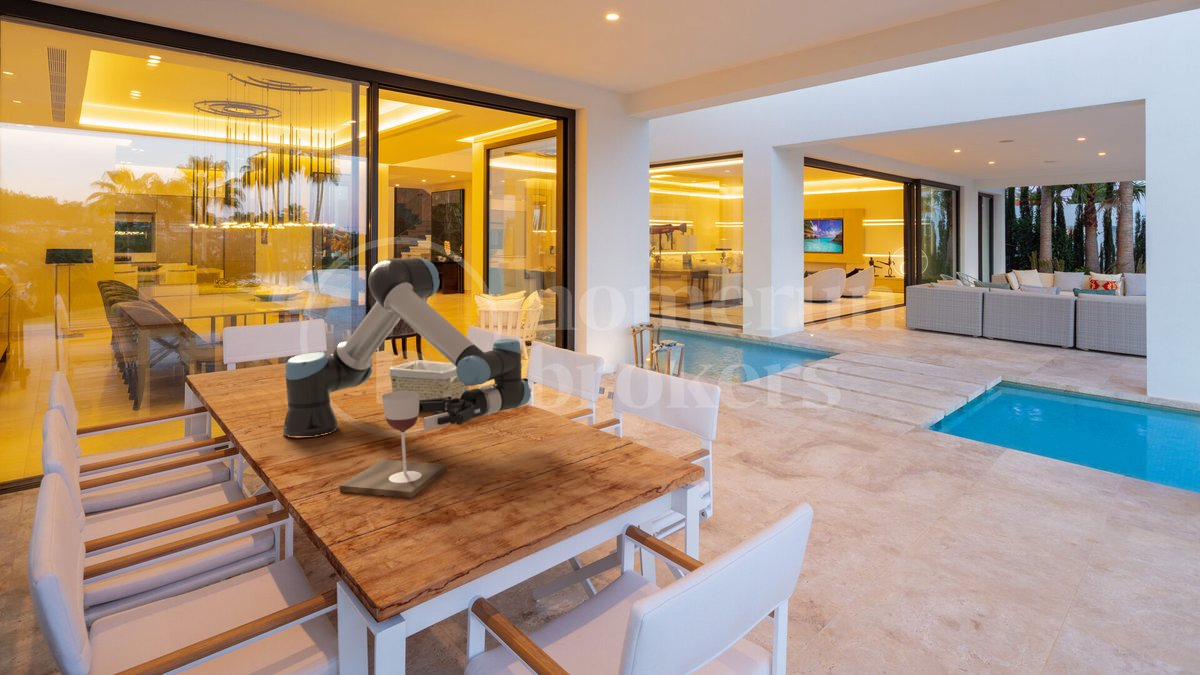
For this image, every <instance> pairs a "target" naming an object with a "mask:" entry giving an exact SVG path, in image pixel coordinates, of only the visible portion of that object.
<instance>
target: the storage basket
mask: <svg viewBox="0 0 1200 675" xmlns="http://www.w3.org/2000/svg"><path fill="white" fill-rule="evenodd" d="M456 368H457V367H456V366H455V365H454V364H452V363H451V362H442V361H433V360H432V361H431V360H430V361H429V360H421V359H418V360H413V361H409V362H406V363H402V364H399V365H394V366H390V367H389V372H388V376H390V383H391V392H397V391H412V392H417V393H419V400H426V399H438V398H446V397H452V399H453V398H459V399H460V398H461V396H462V394H463V393H464V392H465V391H467V390H469V386H468V385H465V384H463V383H462V382H461V381H460V380H459V377H458V375H457V373H456ZM446 410H447V407H446ZM438 413H441V414H442V413H443V412H442V411H439V412H438Z"/></svg>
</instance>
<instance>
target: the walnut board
mask: <svg viewBox="0 0 1200 675" xmlns="http://www.w3.org/2000/svg"><path fill="white" fill-rule="evenodd" d="M406 469H407V471H415V472H419V473H421V474H422V476H421V477H420V478H419V479H417V480H414V481H411V482H405V483H396V482H392V481H390V480H389V477H390V476H391V475H393V474H396V473H399V472H403V460H397V459H396V460H394V459H384V458H383V459H379V461H377V462H376V463H373V464H372V465H371V466H369V467H368V468H365V469H364V470H363V471H361V472H359V473H358V474H355V475H354V476H352V477H351V478H349V479H348V480H346V481H344V482H343V483H341V484H340V485H339V492H340V491H346V492H345V493H348V492H355V493H354V494H359V493H363V495H370V494H372V496H381V495H384V496H383V497H392V496H393V497H395V498H402V499H403V498H406V499H412V498H413V497H415V496H416V495H418V494H419V493H420V492H421V491H422V490H424V489H425V488H426V487H428V486H429V485H431V483H432V482H434V481H435V480H436V479H438V478H439V477H440V476H441V475H443V474H444V473H446V471H448V466H447V463H435V462H433V463H432V462H421V461H420V462H419V461H407V460H406Z"/></svg>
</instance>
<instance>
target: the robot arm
mask: <svg viewBox="0 0 1200 675" xmlns="http://www.w3.org/2000/svg"><path fill="white" fill-rule="evenodd" d="M439 275H440V274H439V271H438V269H437V268H436V266H435V264H434V263H433V262H432V261H430V260H428V259H426V258H419V257H411V258H410V257H407V258H387V259H383V260H381V261H380V262H377V263H376V264H374V266H373V267H372V268H371V270H370V272H369V275H368V281H367V282H368V288H369V291H370V293H371V295H372V297H373V298H374V299H375V301H376V302H375V303H374V304H373V306H372V307H371V309H370V310H369V311H368V313H367V314H366V316H364V318H363V320H362V321H361V322H360V324H359V325H358V326H357V328H356V329H355V330H354V332H353V333H352V334H351V336H350V337H349V338H348V339H347V340H346V341H342V342H339V344H338V345H337V347H336V348H335V349H334V351H333V352H332V353H330V354H326V352H320V351H317V352H313V351H312V352H309V353H308V352H307V353H301V354H298V355H295V356H292V357H290V358H289V359H288V360H286V363H285V366H284V367H285V370H284V371H285V372H284V377H285V384H286V386H285V387H286V397H287V398H286V399H287V412H286V416H285V419H284V423H283V427H282V429H283V430H282V431H283V432H282V433H283V435H284V434H286V435H289V436H315V435H321V434H325V433H329V432H332V431H334V430H335V429H337V428H338V429H339V422H338V419H337V418H336V415H335V412H334V410H333V407H332V406H331V394H330V393H334V392H338V391H342V390H345V389H349V388H355V387H358V386H360V385H362V384H363V383H365V382H367V381H368V380H369V379H370V377H371V375H372V373H373V369H372V367H373V355H374V354H375V353H376V351H377V350H378V349H379V348H380V346H381V345H383V342H384V341H385V340H386V338H387V337H388V335H390V333H391V332H392V331H393V329H395V327H396V326H397V324H398V323H399V321H401V319H402V320H403V321H404V323H406V324H407V325H408V326H410V327H411V328H412V330H414V331H415V332H416V333H417V334H418V335H420V336H421V337H422V338H423V339H424V340H425V341H426V342H428V344H429V345H430V346H432V347H433V348H434V349H435V350H436V351H438V353H440V354H441V355H442V356H443V357H445V358H446V359H447V360H448V361H449V363H452V364H454V365H455V366H456V367H457V368H456V373H457V375H458V377H459V380H460V381H461V382H462V383H463V384H465V385H468V386H470V387H472V386H473V387H474V386H478V385H483V384H485V383H488V382H489V381H490V382H491V381H492V380H494V382H493V383H494V384H491V385H485V386H482V387H477V388H472V389H468V390H467V391H465V392H464V393H463V394H462V396H461V398H460V399H459V398H453V399H452V397H446V398H438V399H426V400H419V413H431V412H432V413H438V414H434V415H429V416H426V417H425V416H424V417H423V418H422V420H423V421H422V422H423V430H428V429H434V428H437V427H440V426H444V425H445V426H446V425H449V424H451V425H454V424H456V425H457V426H458V425H459V426H460V425H462V424H464V423H466V422H467V421H469V420H471V419H476V418H479V417H483V416H489V417H490V416H491V415H492V414H495V413H499V412H502V411H503V412H504V411H508V410H511V409H512V410H514V409H517V408H519V407H522V406H525V405H526V404H528V402H529V401H530V399H531V397H532V396H531V393H532V392H531V389H530V385H529V383H528V382H527V381H526V380H524V379H523V378H522V351H521V342H520V341H519V340H517V339H515V338H510V339H509V338H502V339H501V338H499V339H496V340H494V342H493V343H492V344H493V345H492V346H493V347H492V350H488V351H483V350H482V349H481V348H479V347H478V346H477V345H476V344H475V343H473V342H472V341H471V340H470V339H469V338H468V337H467V336H465V335H464V334H463V333H462V332H460V330H458V329H457V328H456V327H455V326H454V325H453V324H452V323H450V322H449V321H448V320H447V319H446V318H445V317H443V316H442V315H441V314H440V313H439V312H437V310H436V309H435V308H433V306H431V305H430V304H429V303H427V302H426V301H425V300H424V298H430V297H432V296H434V295H435V294H436V293H437V292H438V289H439V287H440V277H439ZM446 407H447V410H446ZM439 411H442V412H443V413H442V412H441V413H440V412H439ZM338 429H337V430H338Z"/></svg>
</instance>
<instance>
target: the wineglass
mask: <svg viewBox="0 0 1200 675" xmlns="http://www.w3.org/2000/svg"><path fill="white" fill-rule="evenodd" d="M381 398H382V407H383V413H384V418H385V420H386V423H387V424H388V426H389V427H391V428H393V429H395V430H397V431H399V432H400V434H401V437H400V438H401V451H402V453H401V454H402V455H401V456H402V461H403V472H399V473H396V474H393V475H391V476H390V477H389V480H390V481H392V482H396V483H405V482H411V481H414V480H417V479H419V478H420V477H421V476H422V474H421V473H419V472H415V471H407V469H406V461H407V455H406V454H407V453H406V435H405V433H406V431H407V430H409V429H411V428H412V427H414V426H415V425H416V423H417V422H418V418H419V414H420V412H419V393H417V392H412V391H397V392H393V391H391V392H387V393H384V394H382V395H381Z"/></svg>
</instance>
